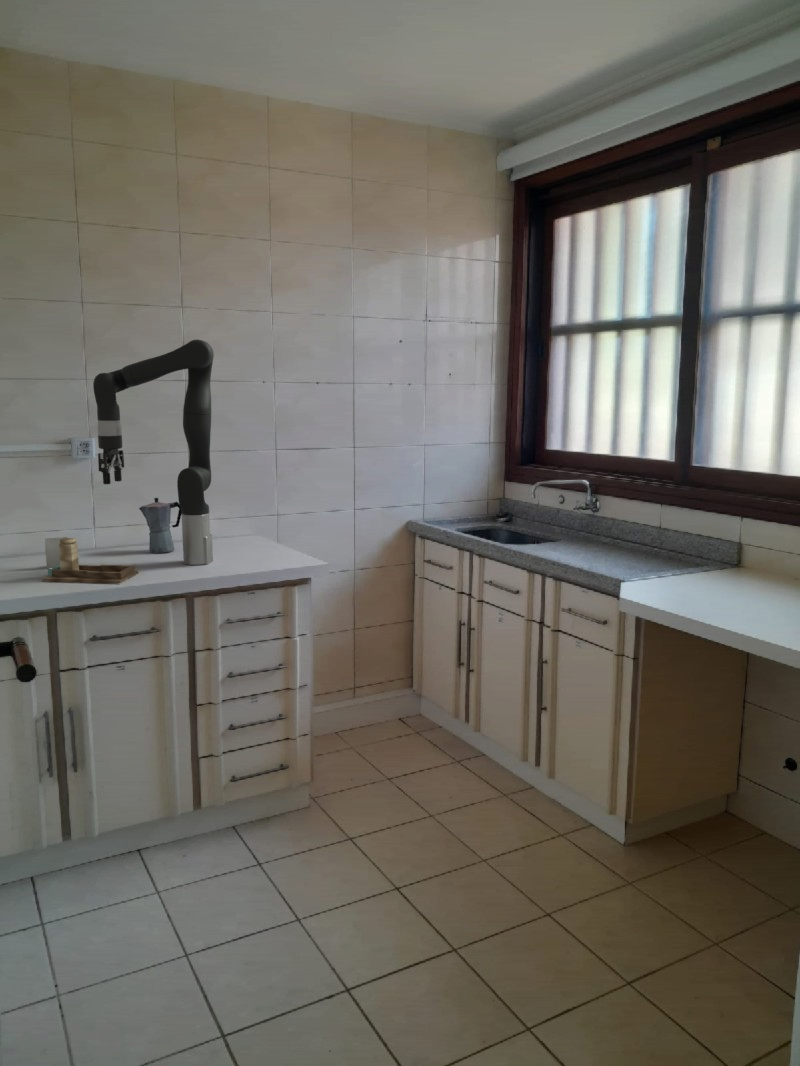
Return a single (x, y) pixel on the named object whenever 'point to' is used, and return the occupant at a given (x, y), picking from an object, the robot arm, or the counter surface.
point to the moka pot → (160, 525)
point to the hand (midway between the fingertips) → (112, 482)
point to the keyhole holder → (92, 574)
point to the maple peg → (68, 554)
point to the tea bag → (52, 552)
